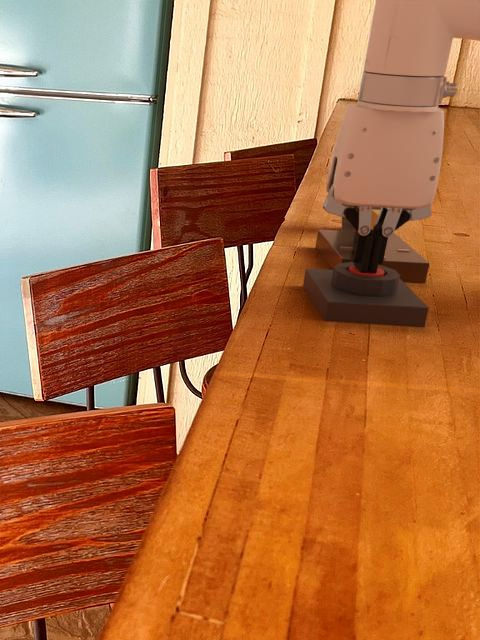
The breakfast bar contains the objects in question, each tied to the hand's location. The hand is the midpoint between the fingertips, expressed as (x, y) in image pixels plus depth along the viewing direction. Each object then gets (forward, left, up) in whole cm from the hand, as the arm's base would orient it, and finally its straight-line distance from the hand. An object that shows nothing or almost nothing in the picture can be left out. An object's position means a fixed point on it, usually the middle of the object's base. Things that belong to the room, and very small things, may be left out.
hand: (364, 269), depth 95 cm
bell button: (0, 0, -2) cm, 2 cm away
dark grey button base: (0, 0, -4) cm, 4 cm away
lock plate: (-5, -17, -4) cm, 18 cm away
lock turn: (-5, -15, -2) cm, 16 cm away
